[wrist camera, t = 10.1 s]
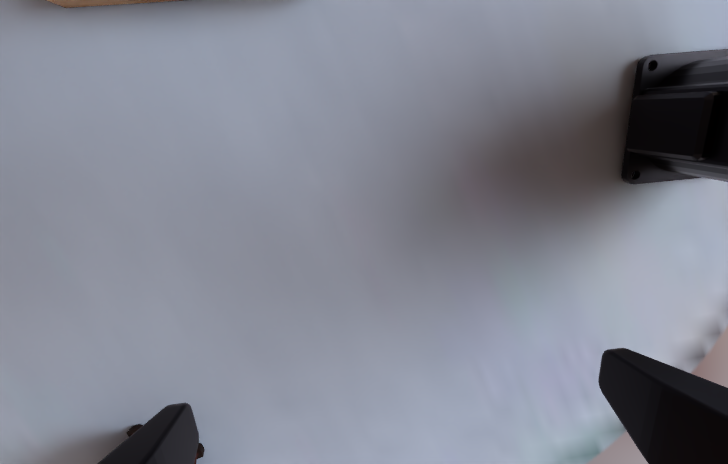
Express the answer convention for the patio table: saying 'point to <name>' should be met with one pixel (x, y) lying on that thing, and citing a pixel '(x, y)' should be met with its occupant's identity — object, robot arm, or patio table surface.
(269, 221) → the patio table surface
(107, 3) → the oak stand
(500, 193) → the patio table surface
